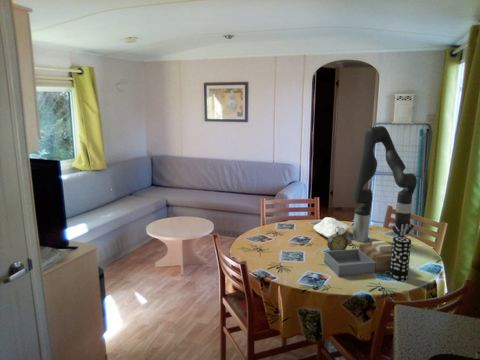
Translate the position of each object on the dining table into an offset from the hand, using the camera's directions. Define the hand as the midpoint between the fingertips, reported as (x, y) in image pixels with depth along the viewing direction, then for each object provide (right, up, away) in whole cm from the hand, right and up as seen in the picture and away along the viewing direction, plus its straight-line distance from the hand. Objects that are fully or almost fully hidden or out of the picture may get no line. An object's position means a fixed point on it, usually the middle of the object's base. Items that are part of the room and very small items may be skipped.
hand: (400, 241), depth 196 cm
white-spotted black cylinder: (-7, -16, -13) cm, 22 cm away
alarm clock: (-31, -10, +15) cm, 36 cm away
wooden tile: (-11, -4, -1) cm, 12 cm away
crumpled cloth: (-25, -3, +46) cm, 53 cm away
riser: (-12, -12, +1) cm, 17 cm away
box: (-29, -13, -2) cm, 32 cm away
